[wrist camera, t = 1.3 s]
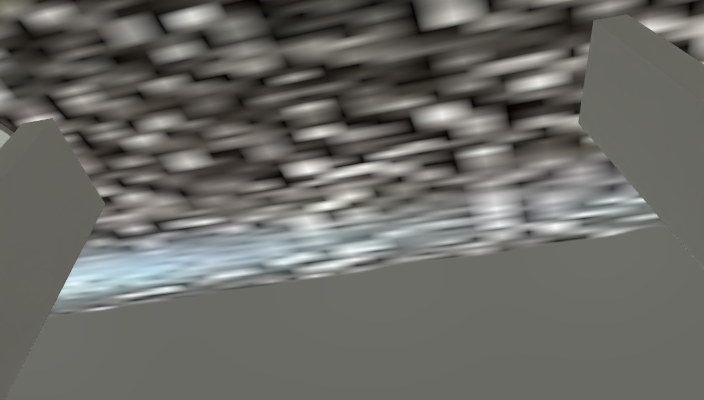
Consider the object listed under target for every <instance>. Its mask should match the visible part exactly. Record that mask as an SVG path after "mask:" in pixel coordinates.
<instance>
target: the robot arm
mask: <svg viewBox="0 0 704 400" xmlns="http://www.w3.org/2000/svg"><path fill="white" fill-rule="evenodd" d="M579 124H580V125H581V126H582V128H583V129H584V130H585V131H586V132H587V133H588V135H589V136H590V137H591V138H592V139H593V140H594V142H595V143H596V144H597V145H598V146H599V148H600V149H601V150H602V151H603V152H604V153H605V155H606V156H607V157H608V158H609V159H610V160H611V162H612V163H613V164H614V165H615V166H616V167H617V169H618V170H619V171H620V172H621V173H622V174H623V176H624V177H625V178H626V179H627V180H628V181H629V183H630V184H631V185H632V186H633V187H634V189H635V190H636V191H637V192H638V193H639V194H640V196H641V197H642V198H643V199H644V200H645V201H646V203H647V204H648V205H649V206H650V207H651V208H652V210H653V211H654V212H655V213H656V214H657V215H658V217H659V218H660V219H661V220H662V221H663V222H664V224H665V225H666V226H667V227H668V228H669V229H670V230H671V232H672V233H673V234H674V235H675V236H676V238H677V239H678V240H679V241H680V242H681V244H682V245H683V246H684V247H685V248H686V249H687V251H688V252H689V253H690V254H691V255H692V256H693V258H694V259H695V260H696V261H697V262H698V263H699V265H700V266H701V267H702V268H703V269H704V64H702V63H701V62H699V61H698V60H696V59H694V58H693V57H691V56H690V55H688V54H687V53H685V52H684V51H682V50H681V49H679V48H678V47H676V46H675V45H673V44H671V43H670V42H668V41H667V40H665V39H664V38H662V37H661V36H659V35H658V34H656V33H655V32H653V31H652V30H650V29H648V28H647V27H645V26H644V25H642V24H641V23H639V22H638V21H636V20H635V19H633V18H632V17H630V16H629V15H627V14H626V15H621V16H615V17H610V18H604V19H599V20H594V21H593V28H592V35H591V42H590V48H589V55H588V62H587V69H586V75H585V82H584V89H583V96H582V102H581V109H580V116H579ZM104 206H105V203H104V201H103V200H102V198H101V196H100V195H99V193H98V192H97V190H96V188H95V187H94V185H93V183H92V182H91V180H90V179H89V177H88V175H87V174H86V172H85V170H84V169H83V167H82V166H81V164H80V162H79V161H78V159H77V157H76V156H75V154H74V153H73V151H72V149H71V148H70V146H69V144H68V143H67V141H66V140H65V138H64V136H63V135H62V133H61V131H60V130H59V128H58V127H57V125H56V123H55V122H54V120H53V118H51V119H46V120H40V121H34V122H29V123H23V124H22V125H21V126H20V127H19V128H18V129H17V130H16V131H15V133H14V134H13V135H12V136H11V137H10V138H9V139H8V140H7V141H6V142H5V144H4V145H3V146H2V147H1V148H0V400H5V399H6V397H7V395H8V393H9V392H10V389H11V387H12V386H13V384H14V382H15V380H16V378H17V376H18V374H19V372H20V370H21V368H22V366H23V364H24V362H25V360H26V358H27V356H28V354H29V352H30V350H31V348H32V346H33V345H34V342H35V340H36V339H37V337H38V335H39V333H40V331H41V329H42V327H43V325H44V323H45V321H46V319H47V317H48V315H49V313H50V311H51V309H52V307H53V305H54V303H55V301H56V300H57V298H58V296H59V294H60V292H61V290H62V288H63V286H64V284H65V282H66V280H67V278H68V276H69V274H70V272H71V270H72V268H73V266H74V264H75V262H76V260H77V258H78V256H79V255H80V253H81V251H82V249H83V247H84V245H85V243H86V241H87V239H88V237H89V235H90V233H91V231H92V229H93V227H94V225H95V223H96V221H97V219H98V217H99V215H100V213H101V211H102V210H103V208H104Z"/></svg>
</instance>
